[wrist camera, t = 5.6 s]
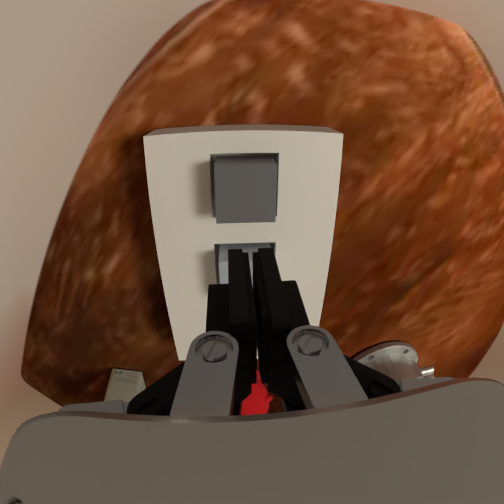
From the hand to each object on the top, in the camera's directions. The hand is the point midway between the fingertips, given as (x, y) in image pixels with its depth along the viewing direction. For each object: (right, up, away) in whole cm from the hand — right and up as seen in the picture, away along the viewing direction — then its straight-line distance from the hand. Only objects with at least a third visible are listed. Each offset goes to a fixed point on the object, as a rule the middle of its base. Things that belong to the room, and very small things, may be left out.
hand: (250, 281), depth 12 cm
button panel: (-1, +2, +17) cm, 17 cm away
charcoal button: (0, +6, +11) cm, 13 cm away
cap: (-1, -16, +27) cm, 31 cm away
